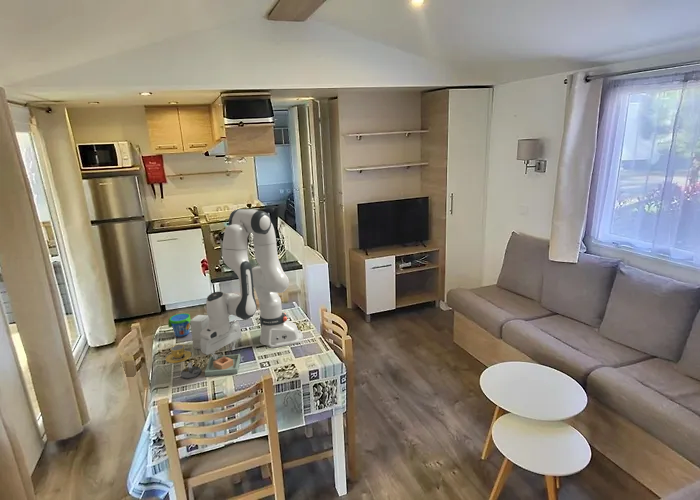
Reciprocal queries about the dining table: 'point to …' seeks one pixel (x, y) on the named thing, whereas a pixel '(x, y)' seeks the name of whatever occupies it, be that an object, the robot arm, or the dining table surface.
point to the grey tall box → (198, 329)
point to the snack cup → (180, 324)
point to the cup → (178, 354)
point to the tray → (216, 372)
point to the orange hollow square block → (223, 363)
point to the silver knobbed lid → (190, 372)
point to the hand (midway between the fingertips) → (224, 354)
